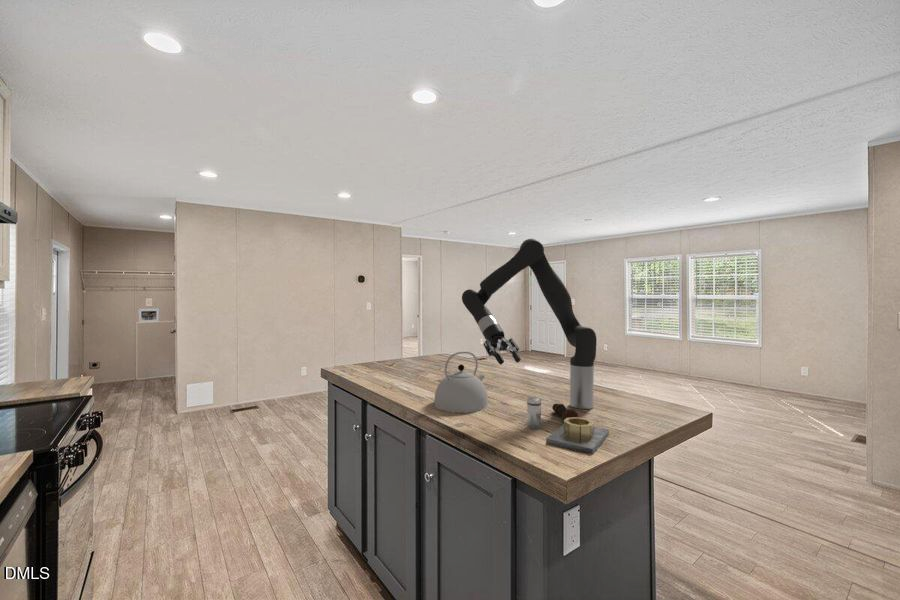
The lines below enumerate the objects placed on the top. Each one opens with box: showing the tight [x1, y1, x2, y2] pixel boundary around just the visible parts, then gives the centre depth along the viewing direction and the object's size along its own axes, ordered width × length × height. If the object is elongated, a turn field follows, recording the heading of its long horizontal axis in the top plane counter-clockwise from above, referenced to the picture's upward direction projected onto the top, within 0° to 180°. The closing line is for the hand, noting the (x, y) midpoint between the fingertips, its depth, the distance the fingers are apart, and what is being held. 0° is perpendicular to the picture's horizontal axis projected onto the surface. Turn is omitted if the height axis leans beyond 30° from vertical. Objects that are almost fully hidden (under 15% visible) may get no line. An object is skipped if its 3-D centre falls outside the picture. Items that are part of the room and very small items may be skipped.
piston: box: [526, 396, 542, 430], centre depth 135 cm, size 5×5×10 cm
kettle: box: [433, 351, 489, 414], centre depth 163 cm, size 25×23×23 cm
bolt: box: [551, 403, 579, 421], centre depth 145 cm, size 6×5×15 cm
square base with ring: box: [545, 416, 610, 455], centre depth 124 cm, size 20×14×6 cm
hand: (510, 362), depth 144 cm, fingers open, 8 cm apart
